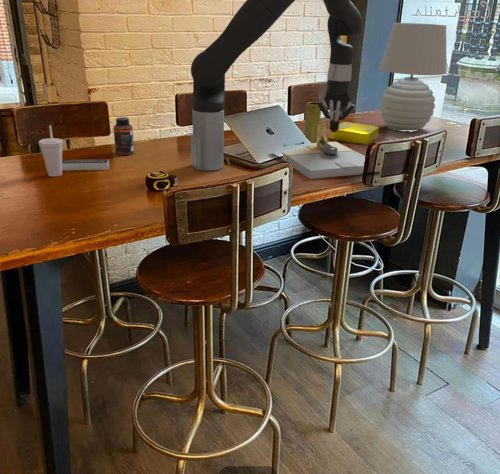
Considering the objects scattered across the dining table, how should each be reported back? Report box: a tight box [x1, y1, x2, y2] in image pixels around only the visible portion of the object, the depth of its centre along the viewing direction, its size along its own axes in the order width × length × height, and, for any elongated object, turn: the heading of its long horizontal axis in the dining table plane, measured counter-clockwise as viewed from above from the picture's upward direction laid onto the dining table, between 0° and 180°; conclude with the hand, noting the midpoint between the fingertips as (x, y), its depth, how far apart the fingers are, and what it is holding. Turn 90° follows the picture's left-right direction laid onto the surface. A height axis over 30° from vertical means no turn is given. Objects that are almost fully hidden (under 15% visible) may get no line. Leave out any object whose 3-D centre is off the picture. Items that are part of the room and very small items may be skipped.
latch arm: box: [316, 122, 337, 156], centre depth 167 cm, size 14×4×7 cm, turn 10°
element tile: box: [330, 121, 380, 145], centre depth 197 cm, size 15×15×5 cm
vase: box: [303, 101, 322, 143], centre depth 186 cm, size 6×6×14 cm
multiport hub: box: [62, 158, 110, 171], centre depth 154 cm, size 4×14×2 cm, turn 99°
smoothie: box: [38, 124, 64, 177], centre depth 144 cm, size 6×6×14 cm
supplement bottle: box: [113, 116, 135, 156], centre depth 167 cm, size 6×6×11 cm
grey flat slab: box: [282, 141, 365, 180], centre depth 166 cm, size 24×28×3 cm
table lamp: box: [379, 22, 447, 131], centre depth 205 cm, size 25×25×40 cm
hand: (333, 131), depth 175 cm, fingers closed
